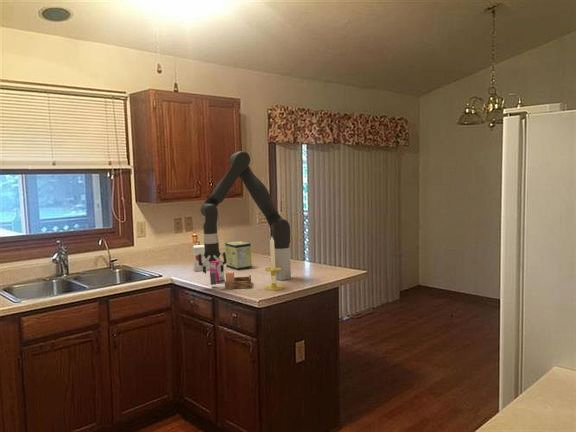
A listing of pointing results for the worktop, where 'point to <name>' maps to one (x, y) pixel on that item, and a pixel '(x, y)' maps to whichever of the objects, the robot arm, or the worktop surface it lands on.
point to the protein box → (238, 255)
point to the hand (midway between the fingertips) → (213, 272)
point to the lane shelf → (239, 283)
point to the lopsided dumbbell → (228, 277)
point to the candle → (273, 269)
